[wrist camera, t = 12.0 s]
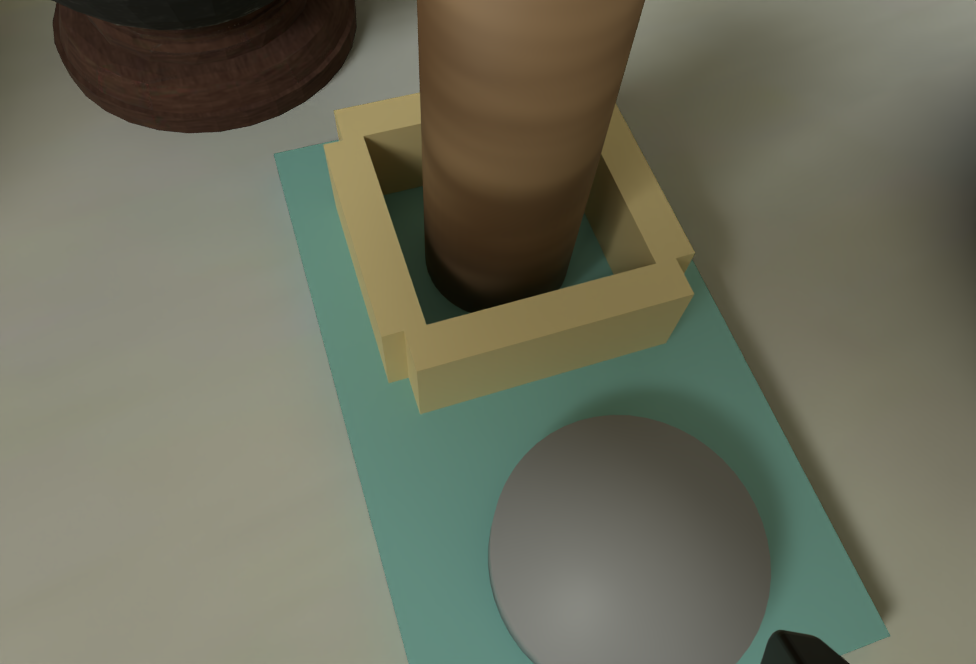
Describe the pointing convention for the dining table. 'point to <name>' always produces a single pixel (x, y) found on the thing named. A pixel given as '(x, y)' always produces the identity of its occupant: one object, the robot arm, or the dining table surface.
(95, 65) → the black ball on stand
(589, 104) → the walnut dowel
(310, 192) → the carrier plate
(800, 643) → the robot arm
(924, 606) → the dining table surface
